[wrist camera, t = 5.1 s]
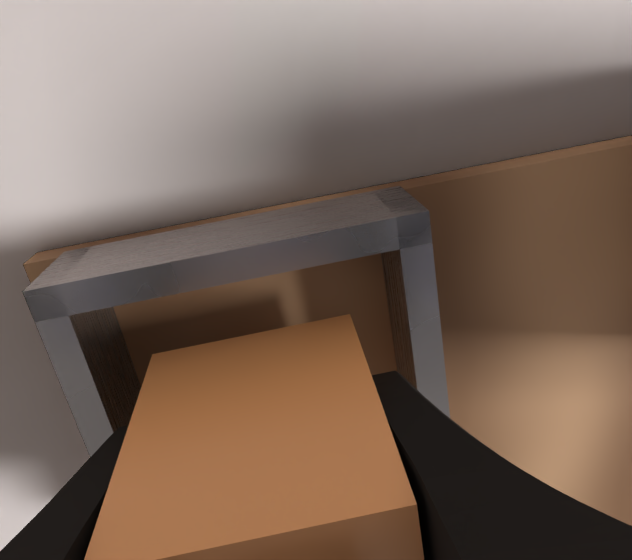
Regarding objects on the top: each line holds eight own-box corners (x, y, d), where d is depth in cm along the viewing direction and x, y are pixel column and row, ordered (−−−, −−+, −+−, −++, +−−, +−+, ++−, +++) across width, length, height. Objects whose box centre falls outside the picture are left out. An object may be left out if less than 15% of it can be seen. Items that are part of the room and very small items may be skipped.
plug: (350, 314, 11) (431, 546, 6) (375, 466, 13) (457, 754, 8) (152, 354, 11) (61, 627, 6) (203, 503, 13) (167, 819, 7)
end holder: (399, 185, 12) (429, 211, 10) (432, 454, 14) (460, 518, 12) (63, 251, 12) (22, 291, 10) (159, 511, 14) (143, 586, 12)
